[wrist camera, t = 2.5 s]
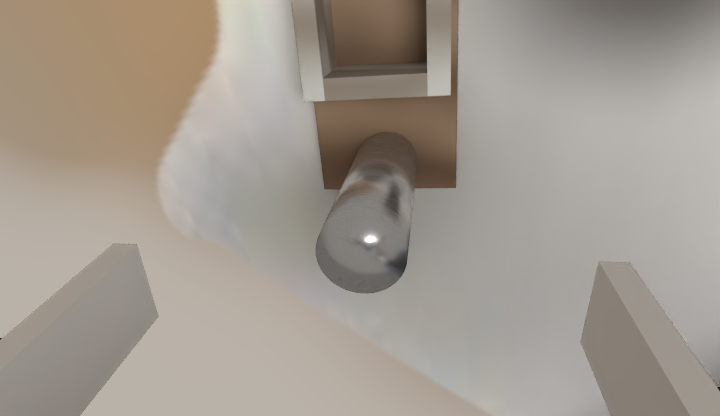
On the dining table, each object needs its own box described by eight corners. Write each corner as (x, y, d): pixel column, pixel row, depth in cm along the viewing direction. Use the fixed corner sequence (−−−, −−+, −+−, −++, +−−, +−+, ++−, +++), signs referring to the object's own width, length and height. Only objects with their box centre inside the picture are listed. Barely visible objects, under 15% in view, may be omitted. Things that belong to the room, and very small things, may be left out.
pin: (418, 188, 31) (408, 294, 20) (359, 188, 32) (321, 292, 21) (416, 130, 29) (405, 213, 19) (355, 132, 30) (310, 213, 19)
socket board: (455, 180, 32) (458, 214, 27) (328, 182, 33) (310, 214, 29) (458, -72, 25) (463, -84, 21) (301, -56, 27) (272, -64, 22)
